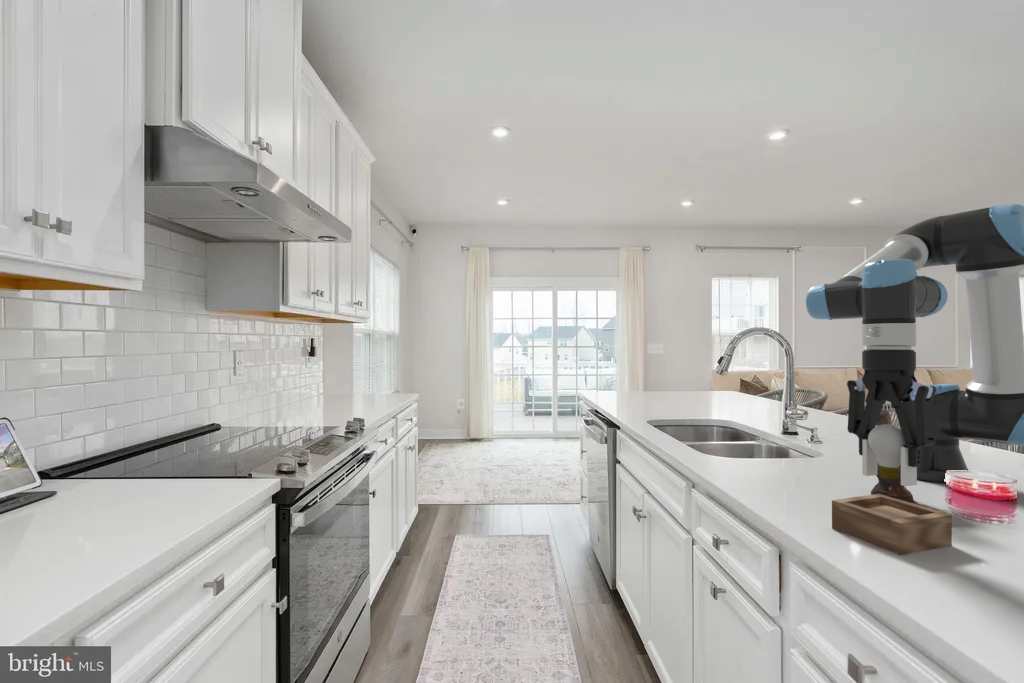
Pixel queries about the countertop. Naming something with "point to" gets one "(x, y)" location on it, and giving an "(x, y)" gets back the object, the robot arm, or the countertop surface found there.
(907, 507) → the tray
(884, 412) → the mortar and pestle
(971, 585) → the countertop surface
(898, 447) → the light bulb
